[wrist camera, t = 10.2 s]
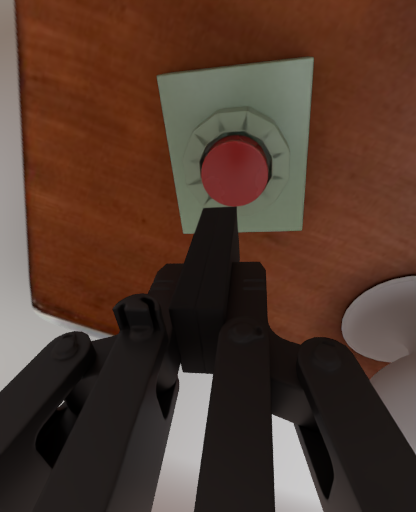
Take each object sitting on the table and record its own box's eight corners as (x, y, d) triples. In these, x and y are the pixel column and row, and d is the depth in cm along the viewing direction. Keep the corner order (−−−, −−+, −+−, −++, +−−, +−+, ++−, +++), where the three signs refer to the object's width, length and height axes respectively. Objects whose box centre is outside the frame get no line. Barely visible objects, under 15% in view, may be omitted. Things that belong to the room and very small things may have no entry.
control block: (164, 73, 22) (148, 77, 19) (309, 56, 20) (319, 57, 17) (187, 222, 29) (178, 244, 25) (299, 218, 27) (304, 242, 24)
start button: (201, 137, 21) (196, 144, 19) (267, 132, 20) (268, 138, 19) (208, 198, 23) (204, 208, 22) (267, 195, 22) (268, 205, 21)
